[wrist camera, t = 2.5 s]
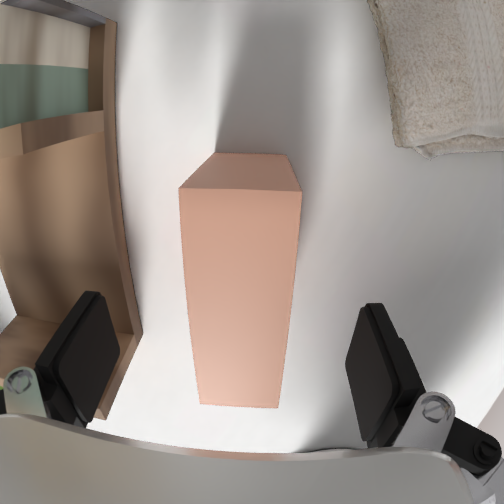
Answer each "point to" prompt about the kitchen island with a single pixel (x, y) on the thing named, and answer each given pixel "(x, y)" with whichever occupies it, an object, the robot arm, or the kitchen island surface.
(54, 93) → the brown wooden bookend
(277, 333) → the salmon pink rectangular block
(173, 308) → the kitchen island surface
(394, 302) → the kitchen island surface
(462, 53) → the washcloth
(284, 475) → the robot arm
